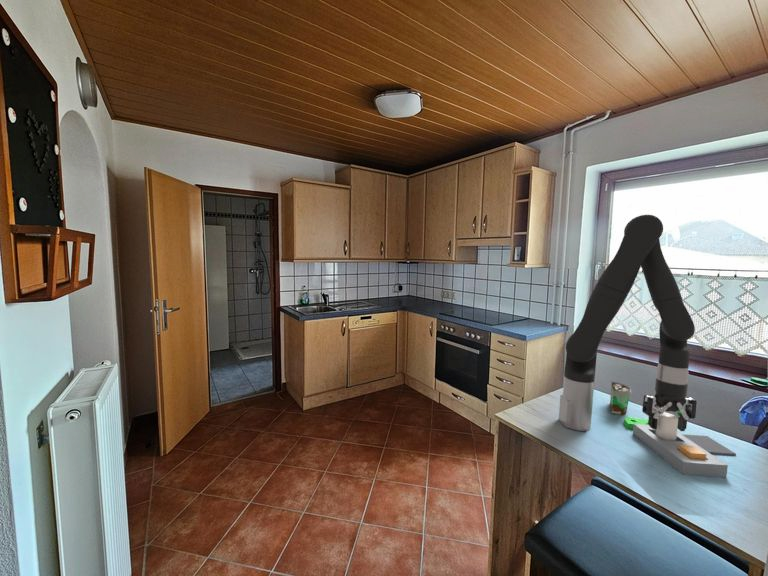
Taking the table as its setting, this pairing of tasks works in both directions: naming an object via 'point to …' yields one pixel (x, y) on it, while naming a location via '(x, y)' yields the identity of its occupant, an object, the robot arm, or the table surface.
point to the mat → (709, 445)
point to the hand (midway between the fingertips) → (666, 429)
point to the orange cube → (692, 452)
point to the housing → (680, 453)
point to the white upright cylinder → (667, 427)
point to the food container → (619, 398)
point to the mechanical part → (634, 422)
